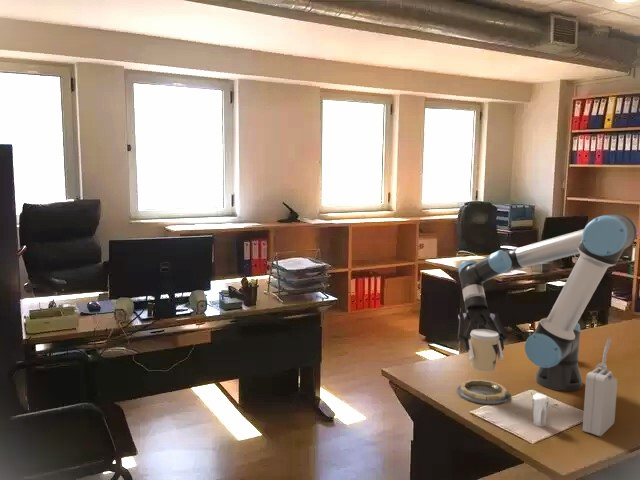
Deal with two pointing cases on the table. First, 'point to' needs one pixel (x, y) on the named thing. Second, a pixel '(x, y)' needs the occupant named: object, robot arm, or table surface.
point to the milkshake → (539, 409)
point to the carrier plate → (483, 392)
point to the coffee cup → (484, 349)
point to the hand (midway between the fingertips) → (486, 359)
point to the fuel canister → (600, 398)
